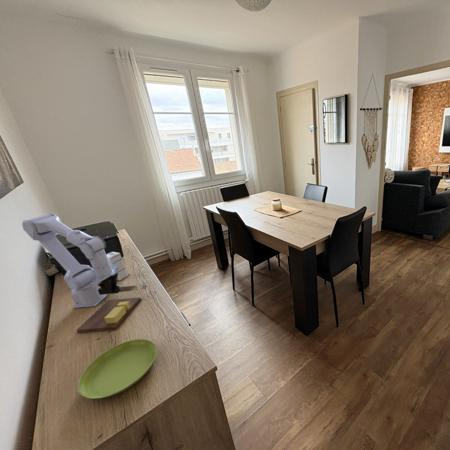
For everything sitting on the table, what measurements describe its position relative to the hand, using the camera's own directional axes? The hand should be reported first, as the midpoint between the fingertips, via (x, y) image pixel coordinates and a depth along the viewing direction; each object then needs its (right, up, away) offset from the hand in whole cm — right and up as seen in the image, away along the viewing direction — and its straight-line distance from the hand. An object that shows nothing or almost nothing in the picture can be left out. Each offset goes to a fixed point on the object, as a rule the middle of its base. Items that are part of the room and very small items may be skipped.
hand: (112, 291), depth 107 cm
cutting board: (+3, -9, -4) cm, 11 cm away
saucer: (+27, -18, -29) cm, 44 cm away
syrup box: (-15, +1, +25) cm, 29 cm away
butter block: (+8, -9, -8) cm, 14 cm away
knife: (+3, 0, 0) cm, 3 cm away
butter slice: (+8, -7, -2) cm, 11 cm away
